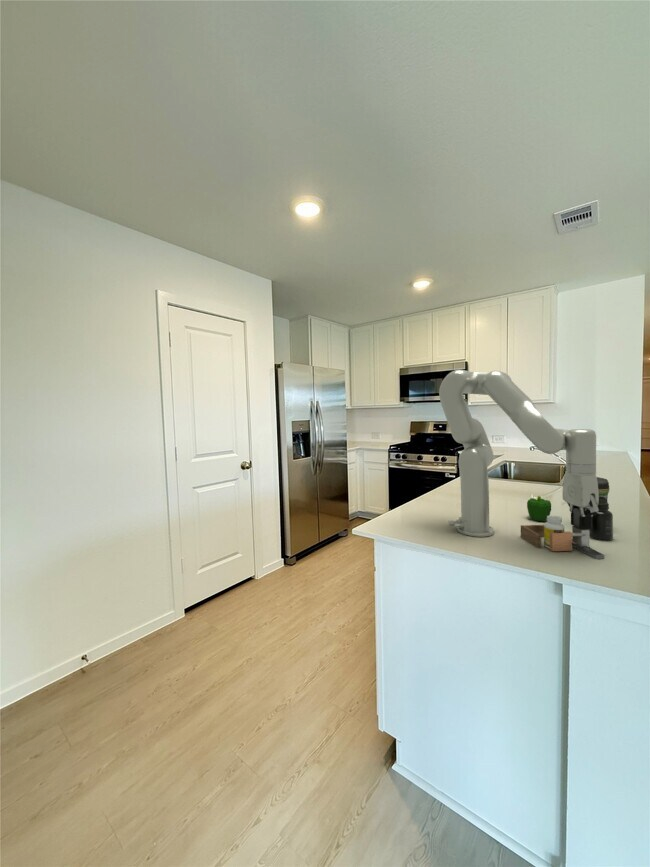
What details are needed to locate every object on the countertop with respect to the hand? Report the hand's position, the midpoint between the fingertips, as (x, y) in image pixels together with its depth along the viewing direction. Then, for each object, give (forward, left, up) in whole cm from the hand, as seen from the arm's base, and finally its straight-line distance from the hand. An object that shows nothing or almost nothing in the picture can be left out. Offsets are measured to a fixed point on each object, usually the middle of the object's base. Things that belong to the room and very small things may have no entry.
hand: (580, 526), depth 108 cm
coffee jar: (+18, +19, -7) cm, 27 cm away
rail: (0, +1, -7) cm, 7 cm away
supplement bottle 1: (-7, +2, -7) cm, 10 cm away
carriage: (-4, 0, -7) cm, 8 cm away
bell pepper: (+5, +30, -7) cm, 31 cm away
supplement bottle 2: (+13, +9, -7) cm, 17 cm away
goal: (-7, +7, -7) cm, 12 cm away
